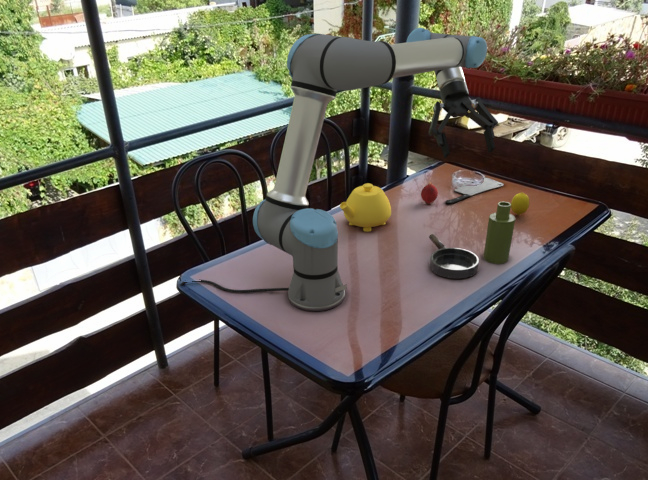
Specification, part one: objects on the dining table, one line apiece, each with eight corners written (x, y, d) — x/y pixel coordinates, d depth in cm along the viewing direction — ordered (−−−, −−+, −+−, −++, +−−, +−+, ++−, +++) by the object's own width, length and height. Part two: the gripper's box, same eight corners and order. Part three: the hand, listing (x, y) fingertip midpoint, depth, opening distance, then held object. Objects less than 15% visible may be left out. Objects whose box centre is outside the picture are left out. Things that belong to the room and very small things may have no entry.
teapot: (357, 242, 176) (358, 202, 168) (324, 227, 186) (323, 189, 179) (400, 223, 186) (402, 184, 178) (366, 210, 196) (367, 172, 189)
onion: (438, 206, 195) (440, 184, 191) (422, 207, 196) (423, 185, 191) (435, 200, 200) (436, 178, 196) (418, 200, 200) (420, 179, 196)
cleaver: (430, 197, 202) (451, 205, 195) (430, 195, 202) (451, 204, 195) (484, 178, 215) (506, 185, 208) (485, 176, 215) (506, 183, 207)
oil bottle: (490, 265, 159) (499, 210, 150) (479, 254, 165) (487, 200, 156) (512, 262, 160) (522, 207, 151) (500, 251, 166) (509, 197, 156)
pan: (440, 283, 153) (441, 272, 151) (422, 260, 164) (423, 251, 162) (485, 276, 154) (487, 266, 153) (464, 254, 165) (466, 245, 164)
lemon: (528, 213, 186) (532, 190, 182) (524, 219, 182) (529, 196, 178) (511, 210, 189) (515, 188, 185) (507, 216, 185) (511, 194, 181)
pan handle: (441, 253, 164) (442, 248, 163) (428, 238, 172) (428, 233, 171) (447, 252, 164) (447, 247, 163) (433, 238, 172) (434, 232, 171)
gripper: (487, 90, 168) (504, 154, 163) (407, 98, 165) (423, 164, 160) (498, 74, 160) (516, 141, 156) (415, 83, 157) (432, 151, 153)
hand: (469, 153), depth 158 cm, fingers open, 13 cm apart
